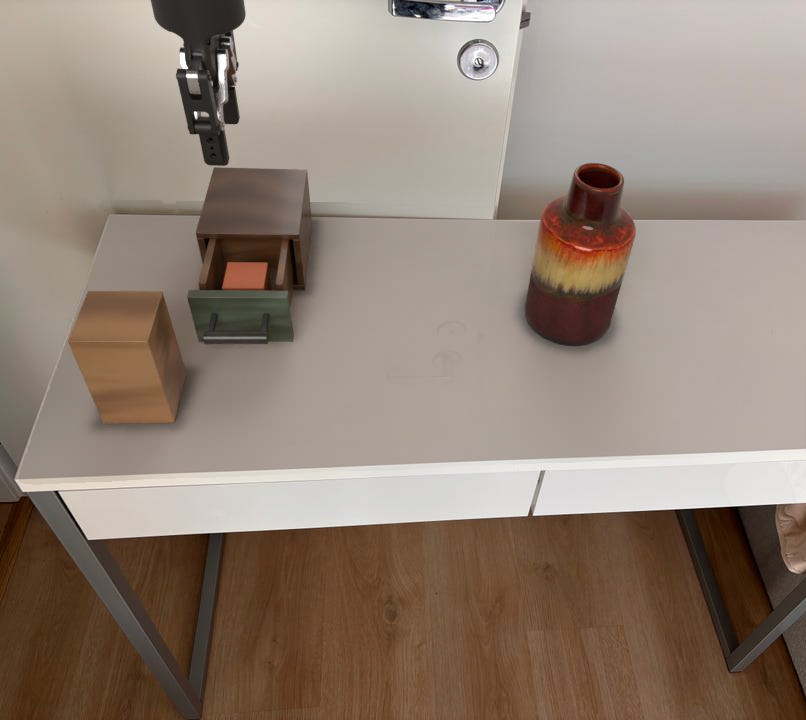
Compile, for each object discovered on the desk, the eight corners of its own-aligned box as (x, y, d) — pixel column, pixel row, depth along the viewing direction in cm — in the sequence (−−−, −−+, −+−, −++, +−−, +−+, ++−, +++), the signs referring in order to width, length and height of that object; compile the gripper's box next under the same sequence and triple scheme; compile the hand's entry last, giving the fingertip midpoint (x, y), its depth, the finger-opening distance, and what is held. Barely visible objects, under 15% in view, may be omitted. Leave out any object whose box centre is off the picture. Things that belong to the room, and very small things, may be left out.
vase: (521, 340, 91) (546, 198, 76) (527, 282, 98) (550, 143, 84) (610, 352, 91) (652, 212, 76) (609, 293, 98) (647, 155, 84)
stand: (174, 423, 78) (147, 341, 70) (103, 424, 77) (67, 341, 69) (186, 373, 83) (162, 291, 74) (119, 373, 82) (87, 290, 73)
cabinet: (305, 290, 94) (299, 234, 88) (208, 289, 92) (195, 232, 86) (312, 224, 103) (307, 169, 97) (224, 222, 102) (213, 167, 95)
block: (268, 317, 87) (263, 288, 84) (228, 317, 87) (221, 287, 83) (272, 291, 90) (267, 262, 87) (233, 291, 90) (227, 261, 86)
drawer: (289, 369, 83) (283, 324, 79) (192, 369, 82) (179, 324, 77) (301, 271, 95) (296, 227, 90) (215, 270, 94) (205, 225, 89)
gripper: (161, -70, 66) (196, 104, 78) (122, -6, 57) (169, 183, 69) (248, -65, 67) (270, 107, 79) (226, 0, 58) (254, 185, 70)
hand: (223, 142), depth 74 cm, fingers open, 7 cm apart
